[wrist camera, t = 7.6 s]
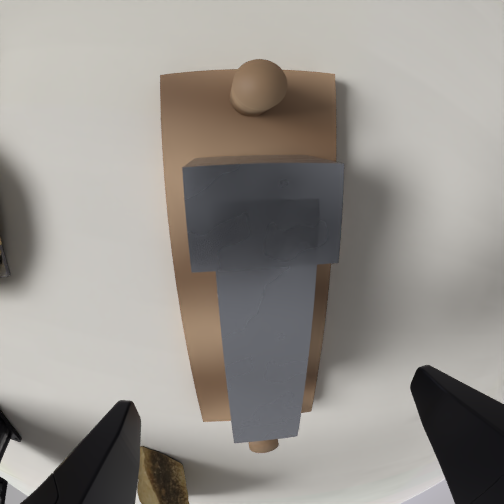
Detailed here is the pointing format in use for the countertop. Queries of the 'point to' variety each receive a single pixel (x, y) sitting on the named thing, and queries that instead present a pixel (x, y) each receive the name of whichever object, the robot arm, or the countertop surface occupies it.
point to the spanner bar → (264, 273)
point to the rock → (161, 479)
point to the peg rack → (238, 144)
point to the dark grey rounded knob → (3, 264)
